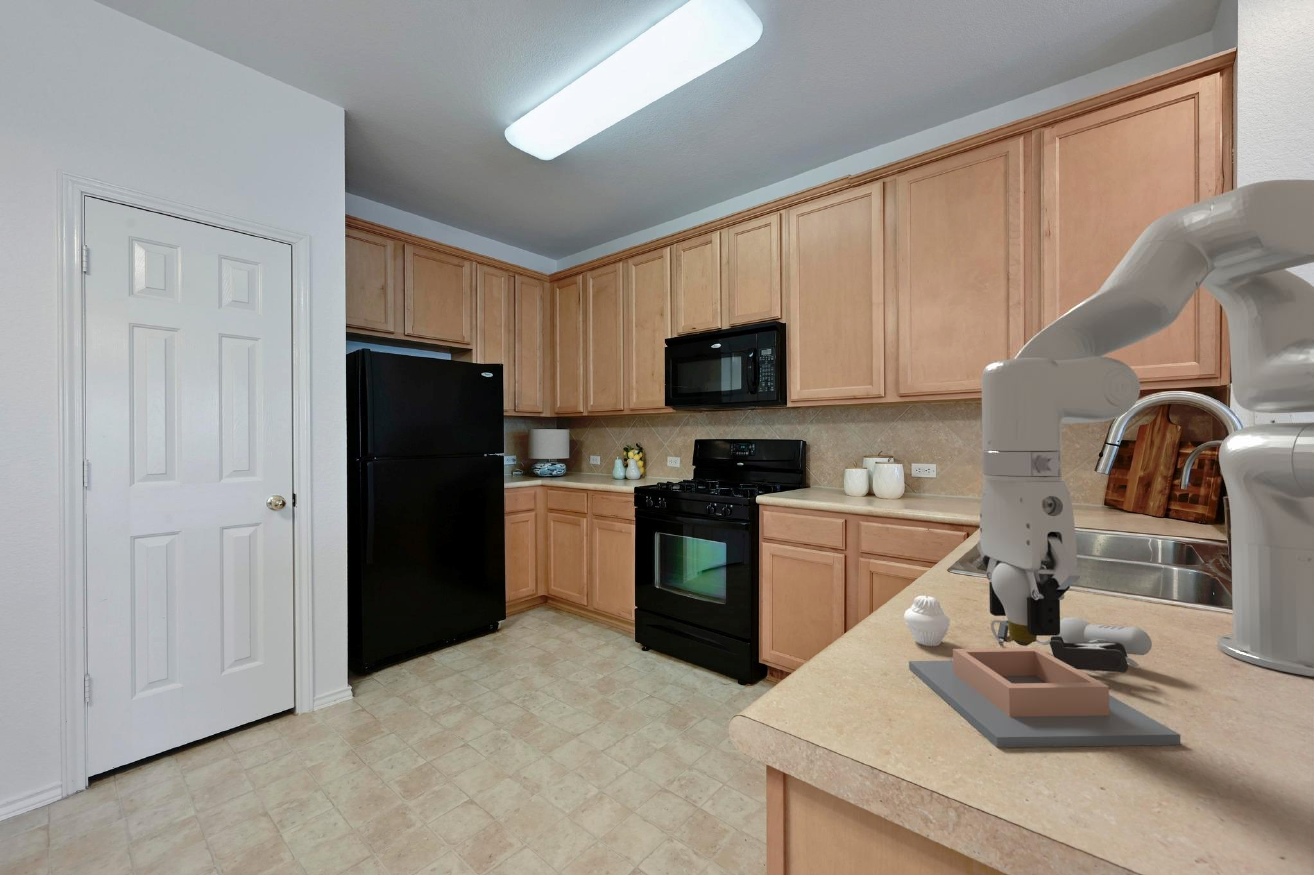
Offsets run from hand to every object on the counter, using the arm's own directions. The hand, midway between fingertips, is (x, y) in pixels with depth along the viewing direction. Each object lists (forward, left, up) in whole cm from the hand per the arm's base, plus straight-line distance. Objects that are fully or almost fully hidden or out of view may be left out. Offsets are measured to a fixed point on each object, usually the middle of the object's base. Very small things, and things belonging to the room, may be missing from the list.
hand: (1022, 622), depth 61 cm
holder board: (0, 0, -9) cm, 9 cm away
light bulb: (0, 0, -3) cm, 3 cm away
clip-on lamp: (-13, -12, -9) cm, 20 cm away
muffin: (+2, -18, -9) cm, 20 cm away
